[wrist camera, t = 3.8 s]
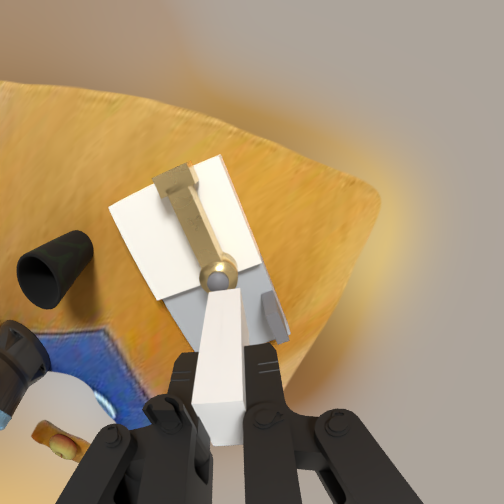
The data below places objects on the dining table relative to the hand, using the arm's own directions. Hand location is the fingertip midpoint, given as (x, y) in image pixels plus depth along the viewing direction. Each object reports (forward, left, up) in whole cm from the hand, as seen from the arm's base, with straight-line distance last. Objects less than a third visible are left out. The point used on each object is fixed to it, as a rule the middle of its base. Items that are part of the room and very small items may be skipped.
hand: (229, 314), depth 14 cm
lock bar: (-4, 0, -20) cm, 21 cm away
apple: (-79, -46, -25) cm, 95 cm away
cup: (-25, +3, -25) cm, 36 cm away
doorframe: (-7, -7, -25) cm, 27 cm away
